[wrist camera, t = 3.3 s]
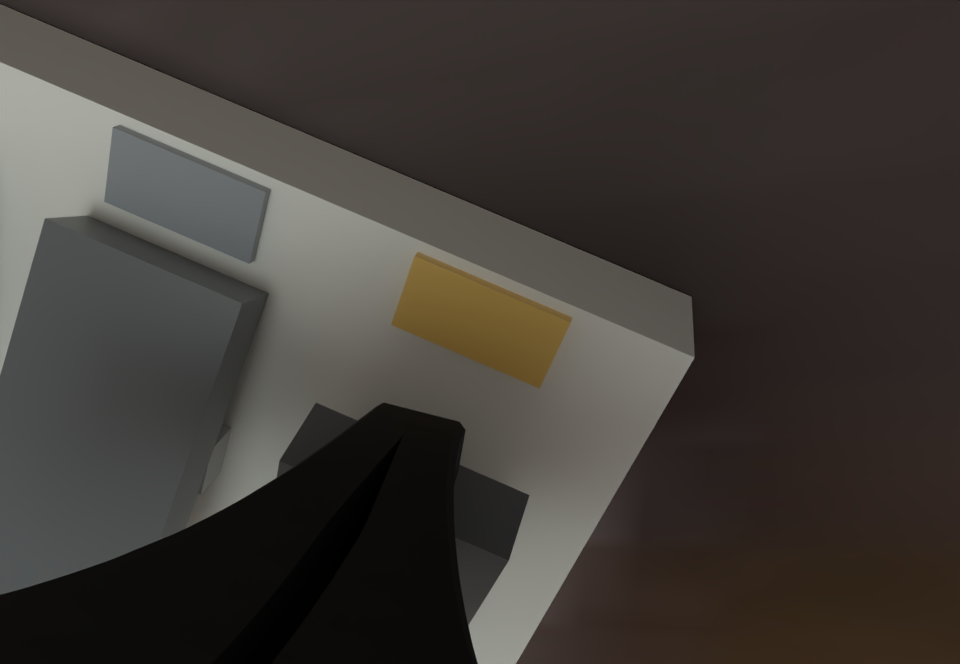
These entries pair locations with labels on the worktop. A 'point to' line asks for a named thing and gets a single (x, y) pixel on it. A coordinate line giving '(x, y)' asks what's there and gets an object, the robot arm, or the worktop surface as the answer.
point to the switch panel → (352, 295)
